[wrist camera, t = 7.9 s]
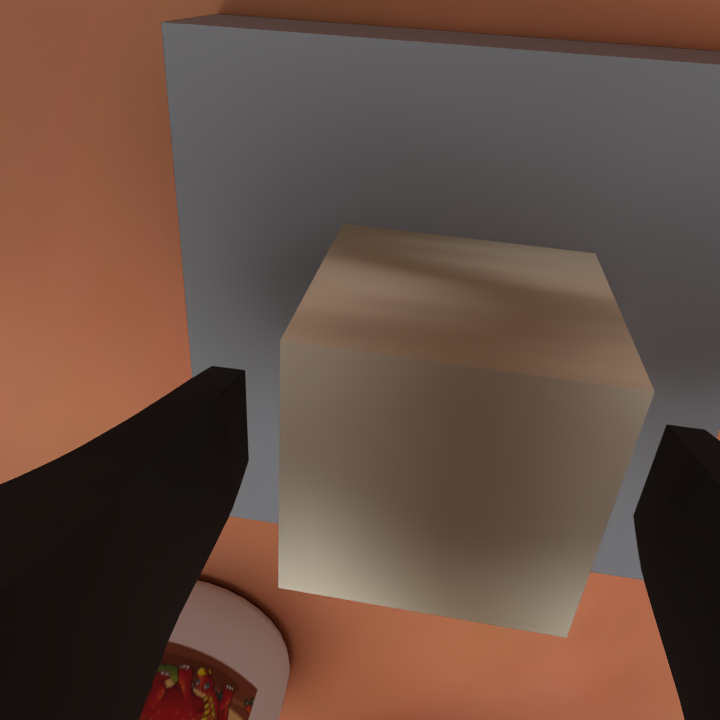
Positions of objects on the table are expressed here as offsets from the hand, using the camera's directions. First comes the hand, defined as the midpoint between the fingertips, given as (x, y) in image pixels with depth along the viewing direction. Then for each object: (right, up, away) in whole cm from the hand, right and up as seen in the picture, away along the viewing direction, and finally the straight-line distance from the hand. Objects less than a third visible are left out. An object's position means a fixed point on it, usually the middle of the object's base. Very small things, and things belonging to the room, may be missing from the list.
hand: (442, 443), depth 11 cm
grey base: (+1, +3, +5) cm, 6 cm away
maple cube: (+1, +2, +3) cm, 3 cm away
